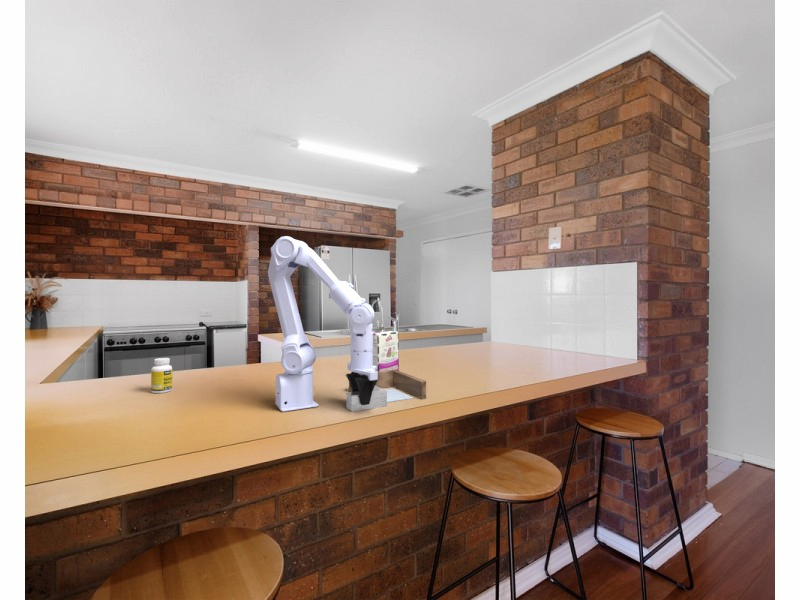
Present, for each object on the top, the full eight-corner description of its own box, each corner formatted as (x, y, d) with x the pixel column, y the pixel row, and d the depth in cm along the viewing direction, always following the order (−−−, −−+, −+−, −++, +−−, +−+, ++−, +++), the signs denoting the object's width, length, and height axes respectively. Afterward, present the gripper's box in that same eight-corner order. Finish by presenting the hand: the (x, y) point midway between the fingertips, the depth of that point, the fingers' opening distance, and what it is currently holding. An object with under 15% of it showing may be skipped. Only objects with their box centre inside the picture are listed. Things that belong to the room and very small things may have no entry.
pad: (385, 402, 105) (385, 402, 105) (366, 392, 115) (366, 392, 115) (413, 398, 110) (413, 397, 110) (392, 389, 120) (392, 388, 120)
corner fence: (375, 406, 101) (375, 387, 101) (348, 391, 117) (349, 374, 117) (426, 398, 109) (426, 381, 109) (395, 385, 125) (395, 369, 125)
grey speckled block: (351, 411, 97) (351, 395, 97) (339, 403, 105) (339, 388, 104) (386, 406, 102) (386, 390, 102) (372, 398, 110) (372, 384, 109)
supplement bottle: (165, 393, 113) (164, 360, 113) (146, 393, 113) (146, 360, 113) (176, 389, 118) (176, 357, 118) (158, 389, 119) (158, 357, 118)
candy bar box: (388, 376, 138) (388, 330, 137) (399, 378, 135) (399, 331, 134) (367, 382, 129) (367, 333, 129) (378, 384, 126) (378, 334, 126)
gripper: (388, 353, 96) (388, 407, 96) (364, 345, 108) (363, 393, 109) (362, 355, 92) (362, 411, 93) (340, 347, 105) (340, 397, 105)
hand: (361, 402), depth 100 cm, fingers open, 4 cm apart
